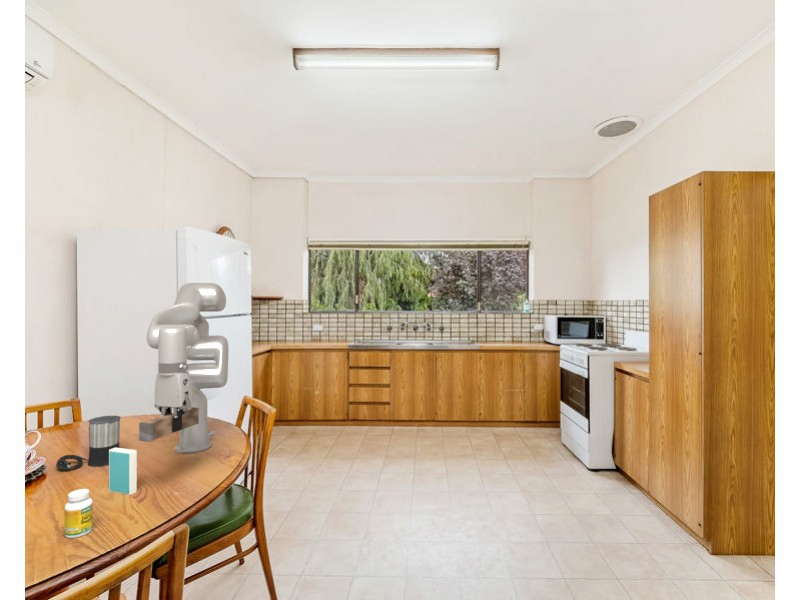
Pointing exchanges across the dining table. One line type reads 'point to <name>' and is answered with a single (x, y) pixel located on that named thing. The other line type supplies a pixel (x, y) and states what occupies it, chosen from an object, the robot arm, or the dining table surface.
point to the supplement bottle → (78, 514)
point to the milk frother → (97, 443)
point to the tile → (123, 470)
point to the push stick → (166, 425)
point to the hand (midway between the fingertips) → (172, 429)
